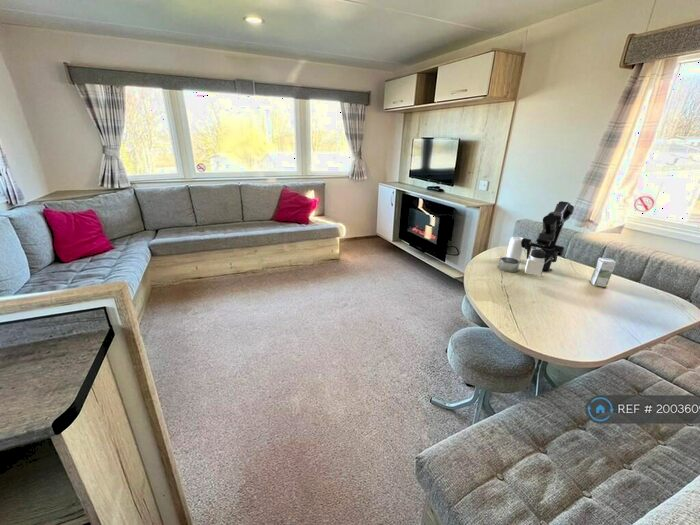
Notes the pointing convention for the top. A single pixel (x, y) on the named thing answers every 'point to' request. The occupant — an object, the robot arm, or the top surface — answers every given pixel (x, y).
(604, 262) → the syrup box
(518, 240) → the cup
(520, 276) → the top surface
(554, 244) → the robot arm
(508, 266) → the grey bowl
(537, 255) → the medicine bottle
